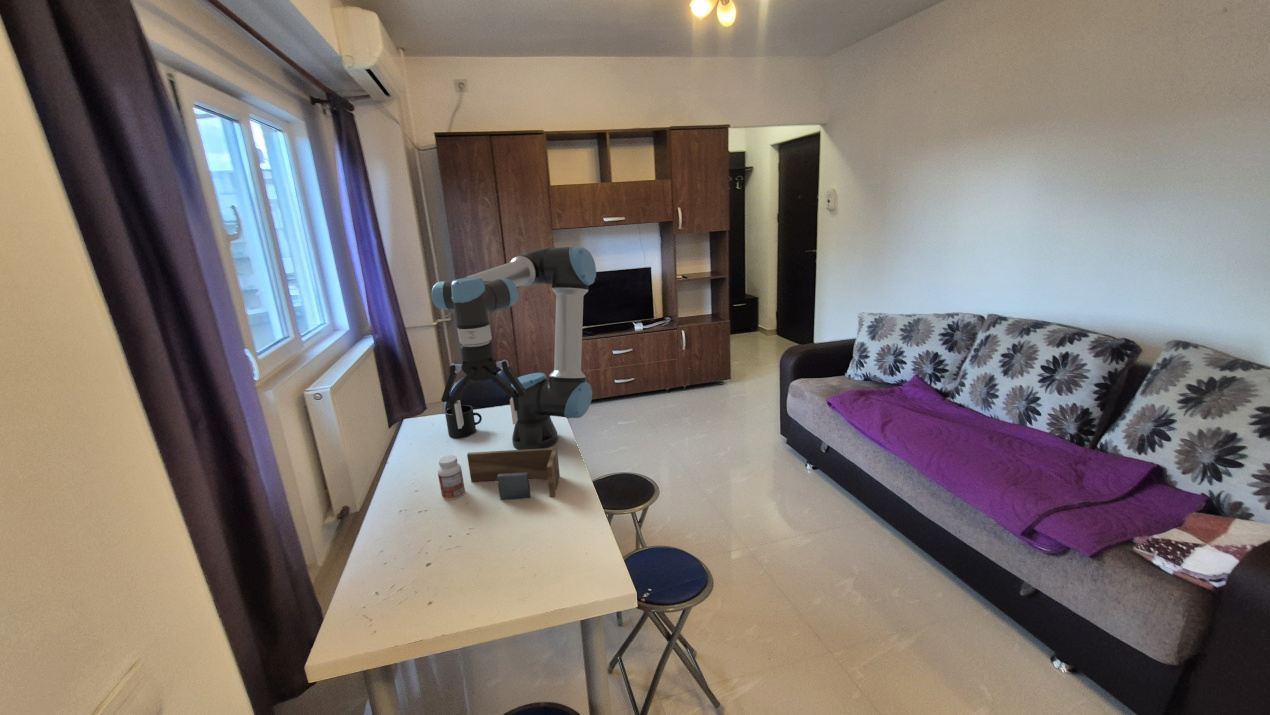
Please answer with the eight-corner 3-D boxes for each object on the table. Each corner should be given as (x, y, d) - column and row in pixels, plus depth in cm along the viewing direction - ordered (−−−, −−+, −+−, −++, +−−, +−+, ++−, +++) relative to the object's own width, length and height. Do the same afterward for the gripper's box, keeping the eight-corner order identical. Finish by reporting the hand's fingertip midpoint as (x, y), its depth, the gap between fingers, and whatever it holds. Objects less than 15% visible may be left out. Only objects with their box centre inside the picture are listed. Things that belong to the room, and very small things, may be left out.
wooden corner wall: (472, 480, 152) (468, 452, 150) (560, 475, 152) (557, 447, 150) (460, 501, 141) (455, 471, 139) (554, 496, 141) (551, 466, 139)
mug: (483, 434, 185) (480, 410, 182) (448, 440, 182) (444, 416, 179) (483, 425, 193) (479, 402, 191) (449, 430, 190) (445, 407, 188)
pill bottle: (446, 489, 148) (440, 454, 145) (468, 488, 148) (462, 453, 145) (438, 501, 142) (432, 464, 139) (461, 500, 142) (455, 463, 139)
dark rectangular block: (501, 496, 143) (498, 473, 141) (530, 495, 142) (527, 472, 141) (500, 499, 141) (497, 476, 139) (529, 498, 141) (526, 475, 139)
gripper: (418, 350, 121) (433, 434, 127) (525, 343, 122) (536, 426, 128) (428, 342, 128) (442, 422, 134) (530, 335, 129) (539, 414, 135)
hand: (488, 424), depth 131 cm, fingers open, 13 cm apart
